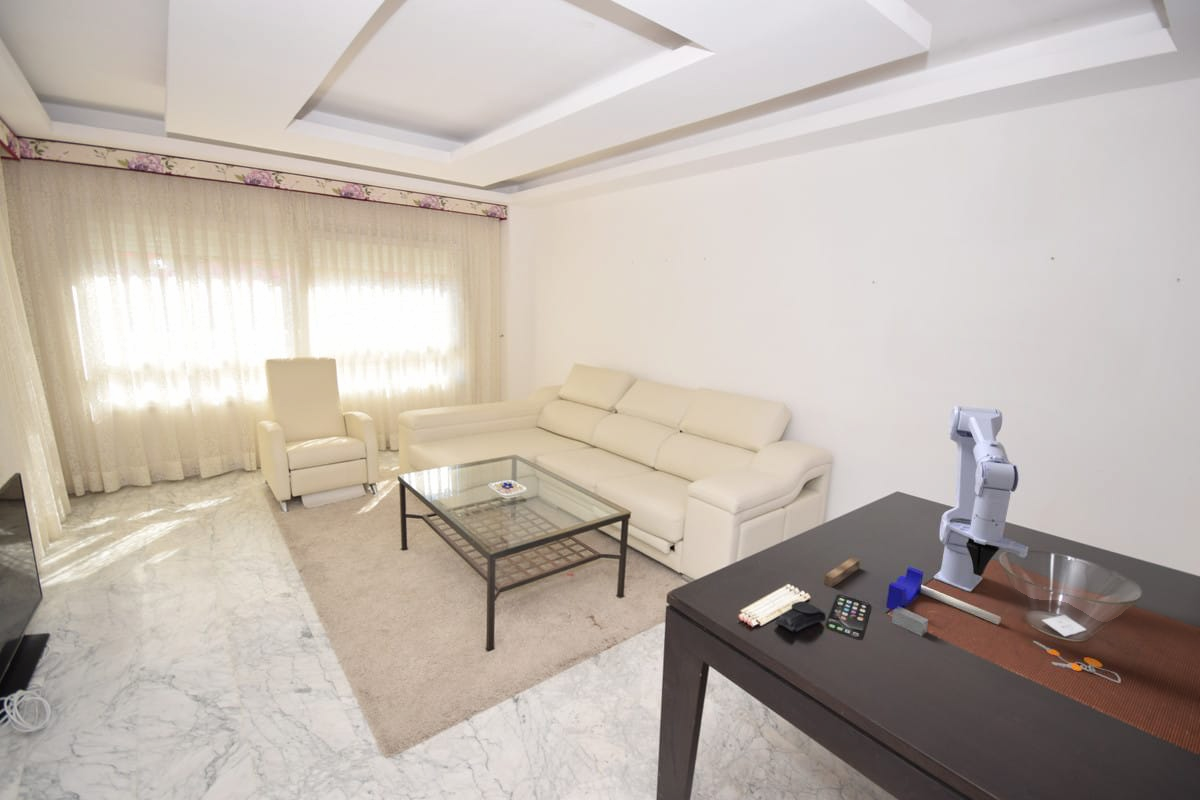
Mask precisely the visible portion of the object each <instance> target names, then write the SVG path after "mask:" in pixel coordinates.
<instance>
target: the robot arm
mask: <svg viewBox="0 0 1200 800" xmlns="http://www.w3.org/2000/svg"><path fill="white" fill-rule="evenodd" d="M1002 425H1003V413H1002V411H1000V409H998V408H981V407H971V406H960V405H955V406H953V407H952V408H951V412H950V417H949V431H948V434H949V439H950V440H951V441H953V442H954V443H956V448H957V466H956V467H957V469H956V489H955V507H953V508H951V509H948V510H946V511H945V512H943V514H942V516H941V521H940V525H939V540H940V542H941V543H942V544H943V545H944V550H943V555H942V559H941V560H942V561H941V567H940V570H939V571H938V572H937V573H936V574H935V575H934V576H933V578H934V579H935V580H938V581H940V582H941V583H945V584H948V585H951V586H953V587H956V588H958V589H961V590H964V591H965V592H969V593H970V592H972V591H973V589H974V590H975V588H976V586H978V585H979V583H981V581H983V577H982V575H983V574H984V573H985V569H987V568H986V567H987V566H988V563H989V562H990V561H991V559H992V558H994V555H995V554H996V553H997V552H999V550H1003V551H1006V552H1009V553H1011V554H1015V555H1017V556H1018V557H1020V558H1025V557H1026V556H1028V550H1029V545H1028V546H1027V545H1024V544H1022V543H1019V542H1016V541H1015V540H1012V539H1010V538H1008V537H1006V536H1003V534H1004V530H1005V524H1006V519H1007V514H1008V509H1009V505H1010V499H1011V496H1012V495H1011V494H1012V493H1013V492H1015V491H1016V490H1017V488H1018V485H1019V480H1020V478H1019V477H1020V473H1019V468H1018V465H1017V464H1015V463H1013V462H1011V461H1009V457H1008V455H1007V451H1006V449H1005V447H1004V445H1003V444H1002V443H1001V442H999V441H997V436H998V434H999V432H1000V431H1001V430H1002Z"/></svg>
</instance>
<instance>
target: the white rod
mask: <svg viewBox="0 0 1200 800" xmlns="http://www.w3.org/2000/svg"><path fill="white" fill-rule="evenodd" d="M920 594H923V595H925V596H926V597H927V596H928V597H930V598H933V599H935V600H938V601H940V602H942V603H945V604H947V605H949V606H952V607H954V608H957V609H960V610H961V611H964V612H966V613H970V614H971V615H972V616H973V615H974V616H976V617H978V618H980V619H983V620H985V621H989V623H990V622H991V623H993V624H995V625H998V626H999V625H1000V623H1001V620H1002V616H999V615H997V614H994V613H992V612H989V611H987V610H985V609H982V608H980V607H977V606H975V605H973V604H969V603H967V602H964V600H963V601H962V600H960V599H957V598H954V597H952V596H950V595H947V594H945V593H942V592H940V591H938V590H935V589H932V588H930V587H927V586H925V585H923V584H922V585H921V590H920Z"/></svg>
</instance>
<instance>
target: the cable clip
mask: <svg viewBox="0 0 1200 800" xmlns="http://www.w3.org/2000/svg"><path fill="white" fill-rule="evenodd" d="M923 578H924V571H921V570H919V569H916V568H914V567H912V566H909V567H908V568H906V573H905V576H904V575H900V576H898V578H897V579H896V581H895V582H893V581H892V582H890V583H889V587H888V592H887V598H886V599H887V600H886V607H885V608H887V609H889V610H892V611H894V609H895V608H897V607H898V606H899V607H902V608H904V609H906V608H907V607H908V606H909V605H911V603H913V601H915V599H917V598H918V596H920V595H921V593H920V590H921V585H923V584H922V583H923Z"/></svg>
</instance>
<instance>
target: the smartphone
mask: <svg viewBox="0 0 1200 800" xmlns="http://www.w3.org/2000/svg"><path fill="white" fill-rule="evenodd" d="M871 607H872V606H871V603H868V602H866V601H863V600H859V599H856V598H854V597H849V596H846V595H844V594H836V596H835V599H834V601H833V603H832V606H831V608H830V611H829V613H828V617H827V620H826V622H825V623H824V627H825V629H827V630H829V629H830V630H829V631H831V630H832V632H834V631H835V632H834V633H837V632H838V634H840V635H844V636H846V637H850V638H852V639H855V640H859V641H861V640H863V638H864V634H865V629H866V627H867V622H868V618H869V616H870V611H871Z"/></svg>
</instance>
